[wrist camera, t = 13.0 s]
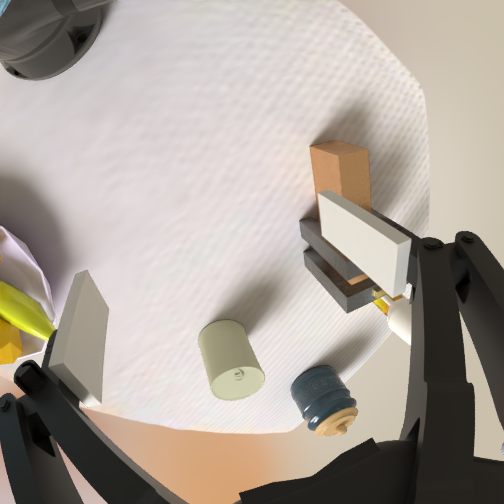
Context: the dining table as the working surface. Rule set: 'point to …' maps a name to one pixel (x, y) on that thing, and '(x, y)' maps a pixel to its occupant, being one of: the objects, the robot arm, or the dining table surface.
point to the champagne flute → (399, 317)
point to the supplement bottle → (383, 305)
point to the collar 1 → (331, 247)
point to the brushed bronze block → (342, 175)
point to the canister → (324, 401)
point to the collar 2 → (342, 283)
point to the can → (229, 361)
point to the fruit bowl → (22, 302)
